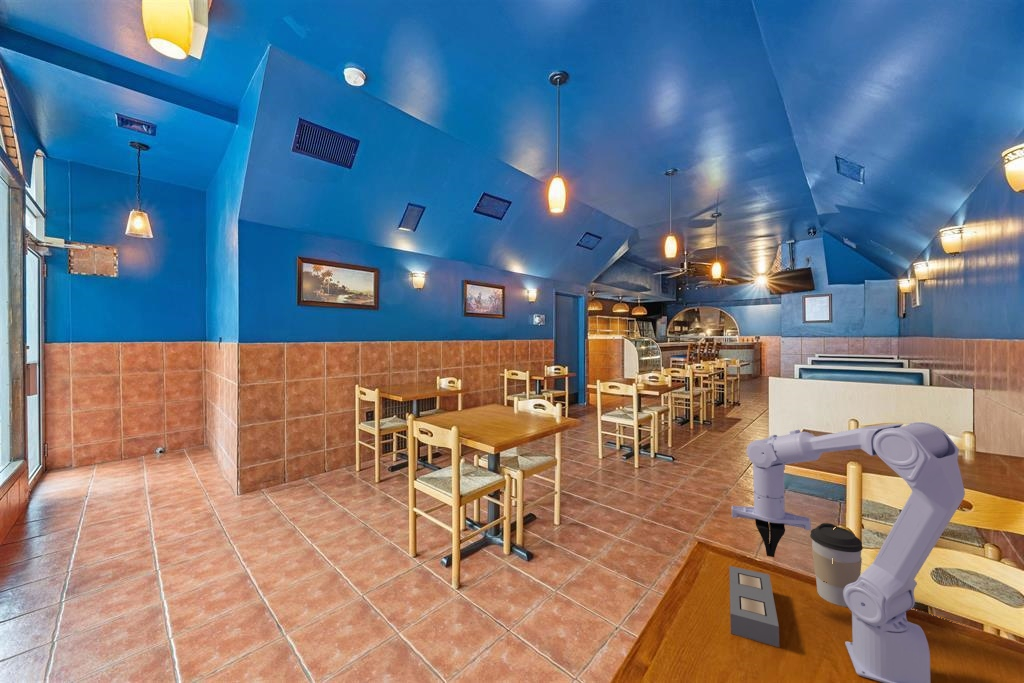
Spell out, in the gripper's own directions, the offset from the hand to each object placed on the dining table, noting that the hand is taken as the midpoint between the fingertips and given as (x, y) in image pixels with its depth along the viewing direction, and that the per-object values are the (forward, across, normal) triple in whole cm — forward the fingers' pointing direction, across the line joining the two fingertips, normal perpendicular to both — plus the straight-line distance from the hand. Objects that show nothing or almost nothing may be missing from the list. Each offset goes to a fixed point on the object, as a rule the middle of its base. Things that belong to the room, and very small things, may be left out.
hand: (770, 554), depth 87 cm
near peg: (+10, +4, +10) cm, 15 cm away
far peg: (+10, +4, +1) cm, 11 cm away
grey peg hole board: (+10, +4, +6) cm, 12 cm away
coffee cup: (+11, -13, -8) cm, 19 cm away
